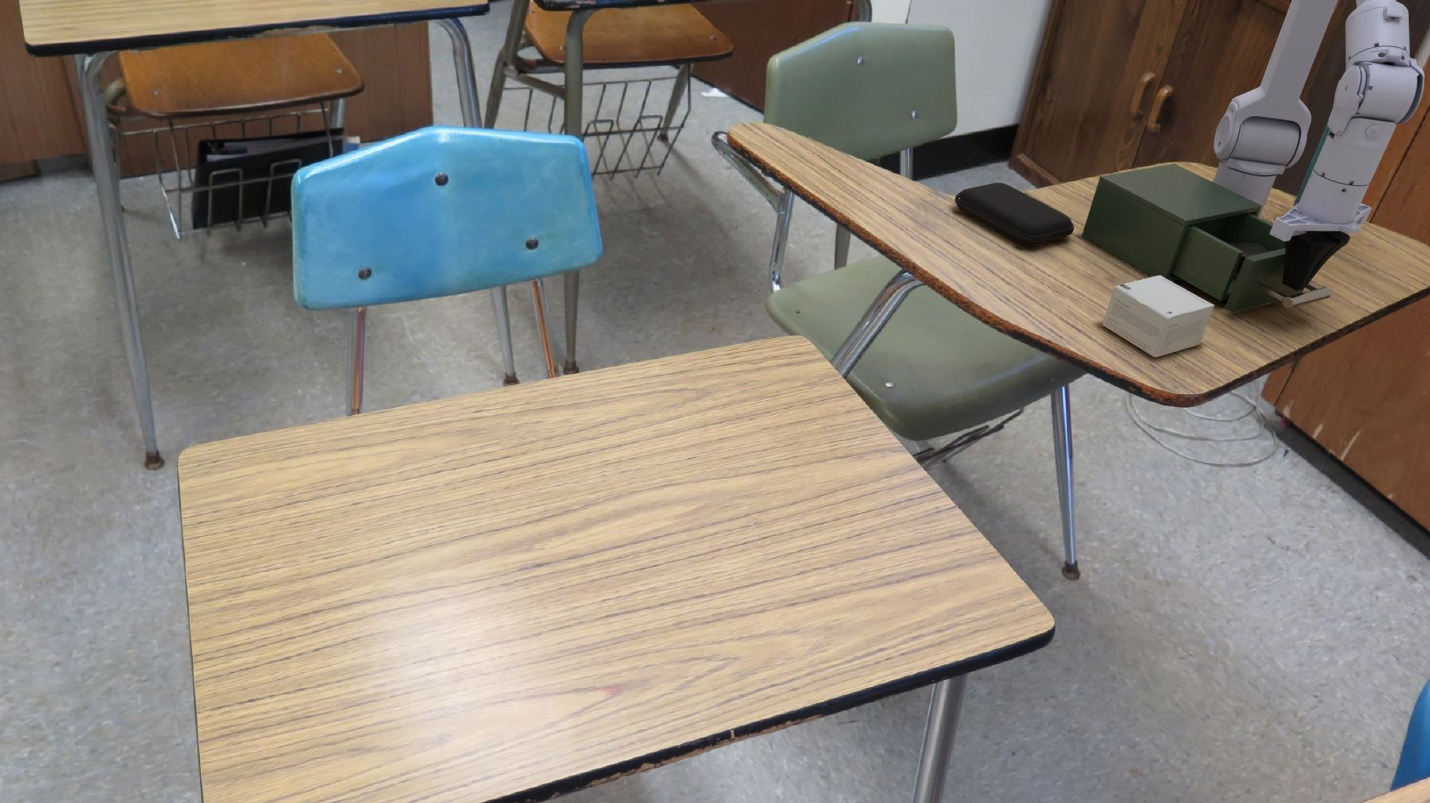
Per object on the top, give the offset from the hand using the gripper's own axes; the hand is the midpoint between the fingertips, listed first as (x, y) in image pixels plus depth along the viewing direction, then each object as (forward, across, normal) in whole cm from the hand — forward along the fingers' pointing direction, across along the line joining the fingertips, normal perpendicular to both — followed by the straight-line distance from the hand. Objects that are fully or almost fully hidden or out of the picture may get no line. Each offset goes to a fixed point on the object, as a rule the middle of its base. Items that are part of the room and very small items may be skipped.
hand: (1292, 286), depth 124 cm
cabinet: (+4, 0, +18) cm, 19 cm away
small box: (+4, -19, +3) cm, 20 cm away
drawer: (+3, 0, +6) cm, 7 cm away
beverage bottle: (+4, +30, +17) cm, 34 cm away
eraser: (+2, 0, +8) cm, 8 cm away
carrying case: (+4, -13, +31) cm, 34 cm away
